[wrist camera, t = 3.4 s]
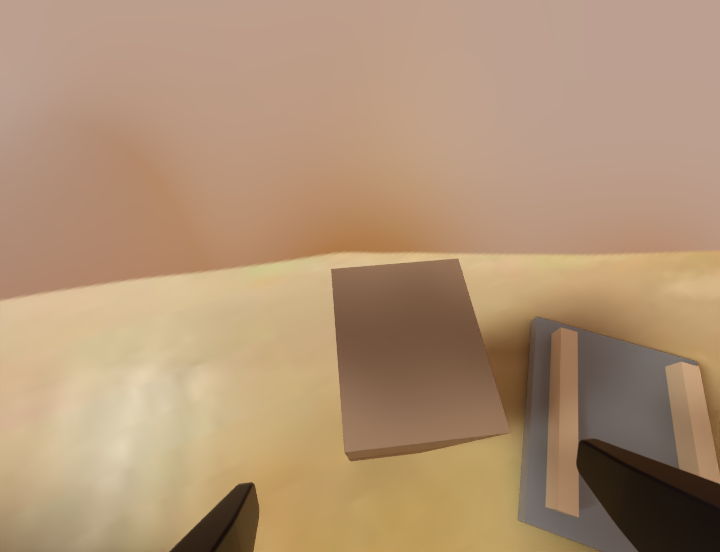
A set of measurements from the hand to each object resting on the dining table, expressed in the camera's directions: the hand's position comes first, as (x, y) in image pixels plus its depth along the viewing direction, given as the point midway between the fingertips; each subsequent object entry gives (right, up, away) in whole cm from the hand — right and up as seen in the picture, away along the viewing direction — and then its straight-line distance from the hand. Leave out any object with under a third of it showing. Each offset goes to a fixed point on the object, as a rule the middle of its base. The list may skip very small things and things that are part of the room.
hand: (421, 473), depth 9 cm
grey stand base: (+13, -4, +11) cm, 18 cm away
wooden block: (-1, -3, +11) cm, 12 cm away
